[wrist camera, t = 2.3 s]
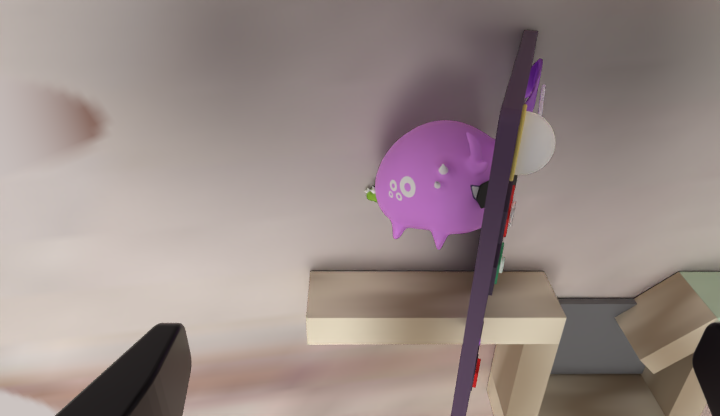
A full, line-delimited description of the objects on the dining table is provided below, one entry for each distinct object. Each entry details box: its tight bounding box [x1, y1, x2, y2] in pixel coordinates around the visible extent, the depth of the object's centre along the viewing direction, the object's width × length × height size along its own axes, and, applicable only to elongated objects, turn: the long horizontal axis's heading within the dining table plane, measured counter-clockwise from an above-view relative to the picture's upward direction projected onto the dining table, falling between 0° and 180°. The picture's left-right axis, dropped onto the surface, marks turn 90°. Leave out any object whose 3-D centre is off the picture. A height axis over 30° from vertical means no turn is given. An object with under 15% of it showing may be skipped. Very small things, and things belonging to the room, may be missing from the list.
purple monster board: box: [365, 30, 555, 416], centre depth 15 cm, size 7×5×9 cm
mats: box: [550, 299, 645, 374], centre depth 17 cm, size 7×24×1 cm, turn 20°
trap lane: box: [306, 271, 719, 416], centre depth 16 cm, size 15×24×2 cm, turn 179°
